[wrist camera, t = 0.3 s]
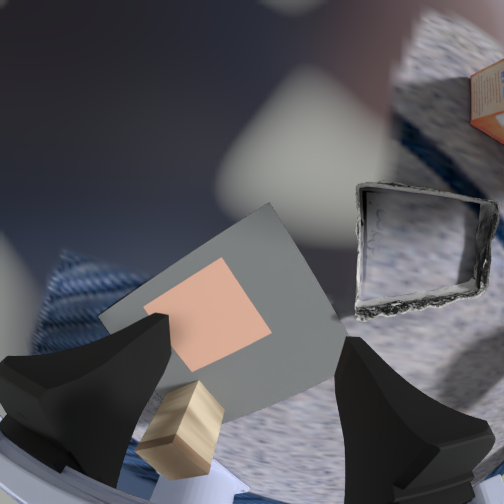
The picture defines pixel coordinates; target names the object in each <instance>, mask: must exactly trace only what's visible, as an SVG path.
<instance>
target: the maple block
mask: <svg viewBox="0 0 504 504" xmlns="http://www.w3.org/2000/svg"><path fill="white" fill-rule="evenodd" d="M224 411H225V409H224V408H223V407H222V406H221V405H220V404H219V403H218V402H217V401H216V399H215V398H214V397H213V396H212V395H211V394H210V393H209V391H208V390H207V389H206V388H205V387H204V386H203V384H202V383H201V382H200V381H199V380H198V381H195V382H193V383H191V384H188V385H186V386H184V387H181V388H179V389H176V390H174V391H171V392H169V393H167V394H166V395H165V397H164V399H163V401H162V403H161V404H160V406H159V408H158V410H157V412H156V414H155V415H154V417H153V419H152V421H151V423H150V425H149V426H148V428H147V430H146V432H145V434H144V436H143V437H142V439H141V441H140V443H139V444H138V446H137V448H136V449H135V452H136V453H137V454H138V455H139V456H141V457H142V458H143V459H144V460H145V461H146V462H147V463H149V464H150V465H151V466H152V467H153V468H154V469H156V470H157V471H158V472H159V473H161V474H162V475H163V476H164V477H166V478H167V479H168V480H169V481H172V480H179V479H186V478H192V477H198V476H204V475H209V472H210V468H211V462H212V458H213V455H214V451H215V447H216V443H217V439H218V435H219V431H220V427H221V423H222V419H223V415H224Z"/></svg>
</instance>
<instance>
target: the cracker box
mask: <svg viewBox="0 0 504 504" xmlns="http://www.w3.org/2000/svg"><path fill="white" fill-rule="evenodd" d="M470 124H471V125H472V126H474V127H476V128H478V129H479V130H481V131H483V132H484V133H486V134H488V135H489V136H491V137H492V138H494V139H495V140H497V141H499V142H500V143H501V144H503V145H504V59H502V60H500V61H498V62H496V63H494V64H492V65H490V66H488V67H486V68H484V69H482V70H480V71H479V72H477V73H475V74H473V75H472V76H471V122H470Z"/></svg>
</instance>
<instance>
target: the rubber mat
mask: <svg viewBox="0 0 504 504" xmlns="http://www.w3.org/2000/svg"><path fill="white" fill-rule="evenodd" d="M155 312H156V313H162V314H167V315H169V325H170V339H171V352H172V354H171V357H170V360H169V362H168V365H167V367H166V370H165V372H164V374H163V376H162V378H161V380H160V381H159V383H158V385H157V387H156V388H155V390H154V391H155V392H156V393H157V394H158V395H159V396H160V398H161V399H162V400H163V399H164V397H165V395H166V394H167V393H169V392H171V391H174V390H176V389H179V388H181V387H184V386H186V385H188V384H191V383H193V382H195V381H198V380H199V381H200V382H201V383H202V384H203V386H204V387H205V388H206V389H207V390H208V391H209V393H210V394H211V395H212V396H213V397H214V398H215V399H216V401H217V402H218V403H219V404H220V405H221V406H222V407H223V408H224V409H225V411H224V415H223V419H222V423H221V424H223V423H226V422H229V421H232V420H234V419H237V418H240V417H243V416H245V415H248V414H251V413H253V412H256V411H258V410H261V409H263V408H266V407H268V406H271V405H273V404H276V403H278V402H280V401H283V400H285V399H287V398H289V397H292V396H294V395H296V394H298V393H300V392H303V391H305V390H307V389H309V388H311V387H313V386H315V385H317V384H319V383H321V382H323V381H325V380H327V379H329V378H331V377H333V376H334V374H335V371H336V368H337V364H338V361H339V358H340V355H341V351H342V348H343V344H344V341H345V338H346V336H349V335H348V333H347V332H346V330H345V328H344V326H343V324H342V323H341V321H340V319H339V317H338V316H337V314H336V312H335V310H334V309H333V307H332V305H331V303H330V302H329V300H328V298H327V296H326V295H325V293H324V291H323V290H322V288H321V286H320V285H319V283H318V281H317V279H316V278H315V276H314V274H313V273H312V271H311V269H310V268H309V266H308V264H307V263H306V261H305V259H304V257H303V256H302V254H301V253H300V251H299V249H298V248H297V246H296V244H295V243H294V241H293V239H292V238H291V236H290V235H289V233H288V231H287V230H286V228H285V226H284V225H283V223H282V222H281V220H280V218H279V217H278V215H277V214H276V212H275V210H274V209H273V207H272V206H271V204H270V203H267V204H266V205H264V206H262V207H261V208H259V209H258V210H256V211H254V212H253V213H251V214H250V215H248V216H247V217H245V218H244V219H242V220H241V221H239V222H237V223H236V224H234V225H232V226H231V227H229V228H228V229H226V230H225V231H223V232H222V233H220V234H218V235H217V236H215V237H214V238H212V239H211V240H209V241H208V242H206V243H205V244H203V245H202V246H200V247H199V248H197V249H196V250H194V251H193V252H191V253H189V254H188V255H186V256H185V257H183V258H182V259H180V260H179V261H177V262H176V263H174V264H173V265H171V266H170V267H169V268H167V269H166V270H164V271H163V272H161V273H160V274H158V275H157V276H155V277H154V278H152V279H151V280H149V281H148V282H146V283H145V284H143V285H142V286H141V287H139V288H138V289H136V290H135V291H133V292H132V293H130V294H129V295H128V296H126V297H125V298H123V299H122V300H120V301H119V302H117V303H116V304H115V305H113V306H112V307H110V308H109V309H108V310H106V311H105V312H103V313H102V314H101V315H99V316H98V317H99V319H100V320H101V321H102V323H103V324H104V326H105V327H106V329H107V330H108V332H109V333H110V335H111V334H113V333H115V332H117V331H119V330H121V329H123V328H125V327H127V326H129V325H131V324H133V323H135V322H137V321H139V320H141V319H143V318H144V317H146V316H148V315H151V314H153V313H155Z"/></svg>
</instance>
